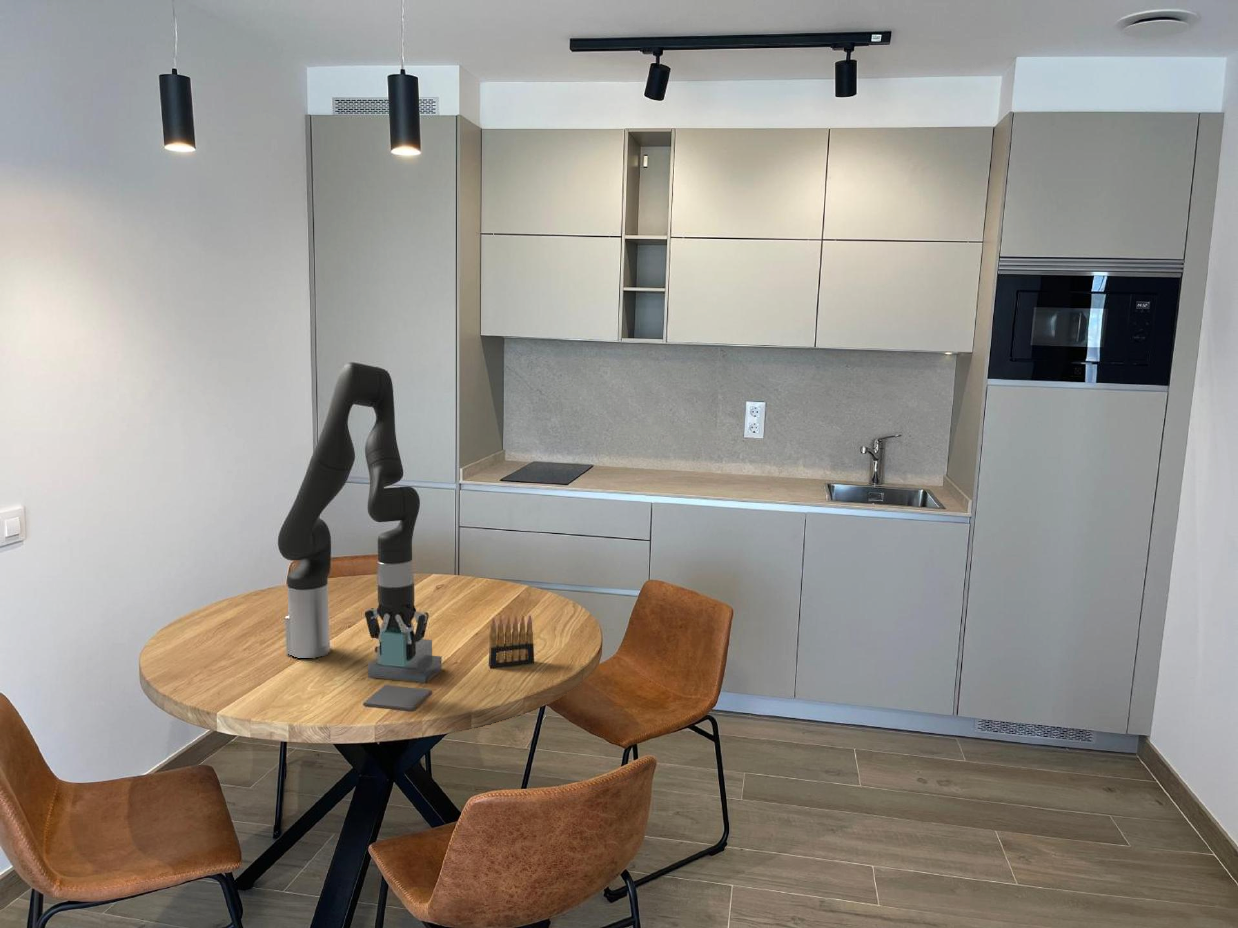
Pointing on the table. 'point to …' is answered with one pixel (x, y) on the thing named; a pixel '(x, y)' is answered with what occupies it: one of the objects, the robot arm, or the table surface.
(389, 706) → the mat
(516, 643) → the ammunition clip
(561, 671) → the table surface
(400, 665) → the sleeve
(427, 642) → the vise
